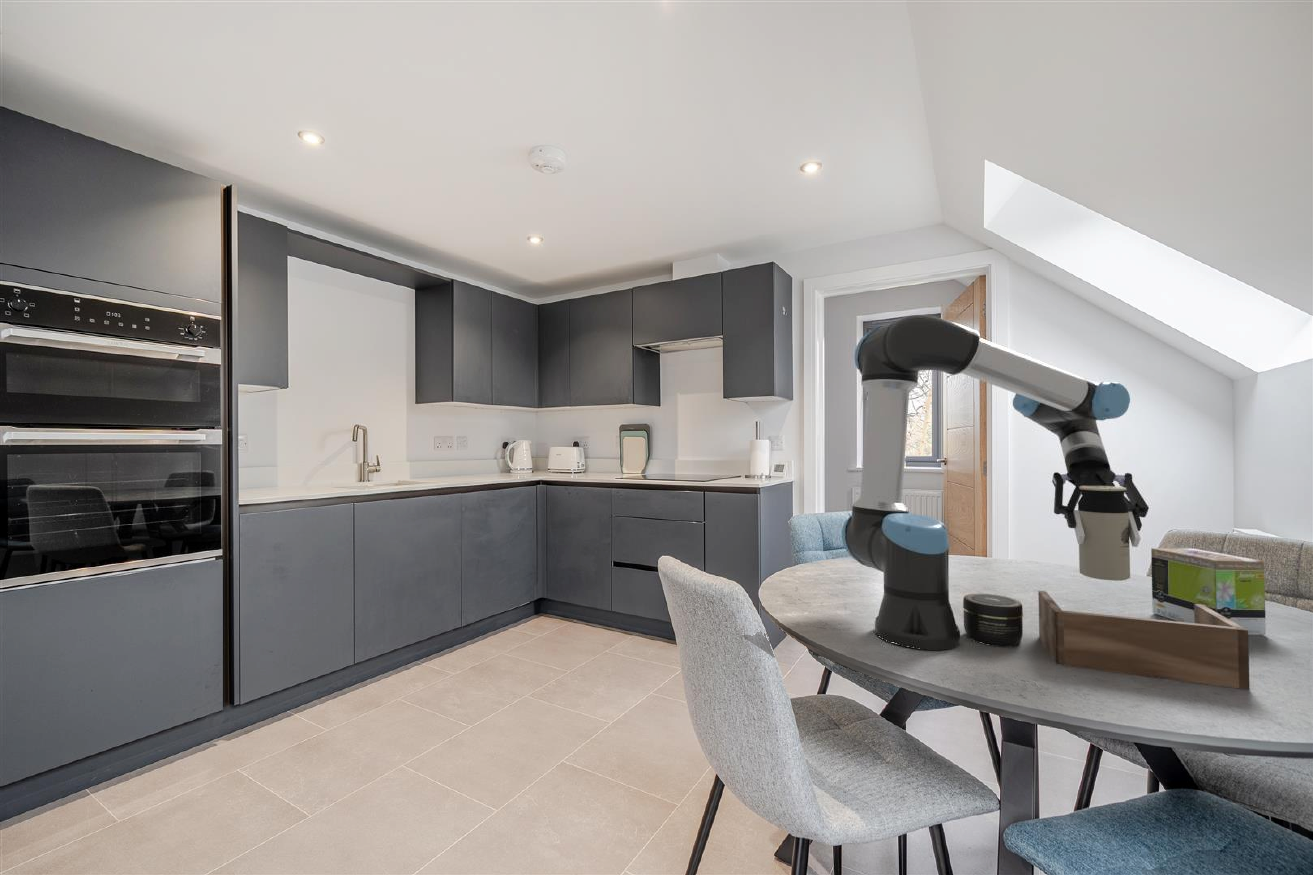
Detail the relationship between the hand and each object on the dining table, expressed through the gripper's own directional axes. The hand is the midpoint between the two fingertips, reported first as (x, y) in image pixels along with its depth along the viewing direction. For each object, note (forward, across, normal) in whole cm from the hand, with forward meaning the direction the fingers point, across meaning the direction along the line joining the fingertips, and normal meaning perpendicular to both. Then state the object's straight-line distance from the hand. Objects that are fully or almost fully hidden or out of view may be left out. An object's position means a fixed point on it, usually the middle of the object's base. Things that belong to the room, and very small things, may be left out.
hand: (1108, 541), depth 110 cm
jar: (+21, +21, -6) cm, 30 cm away
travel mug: (+3, 0, -8) cm, 8 cm away
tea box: (+1, -20, -26) cm, 33 cm away
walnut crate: (+22, 0, -4) cm, 23 cm away
